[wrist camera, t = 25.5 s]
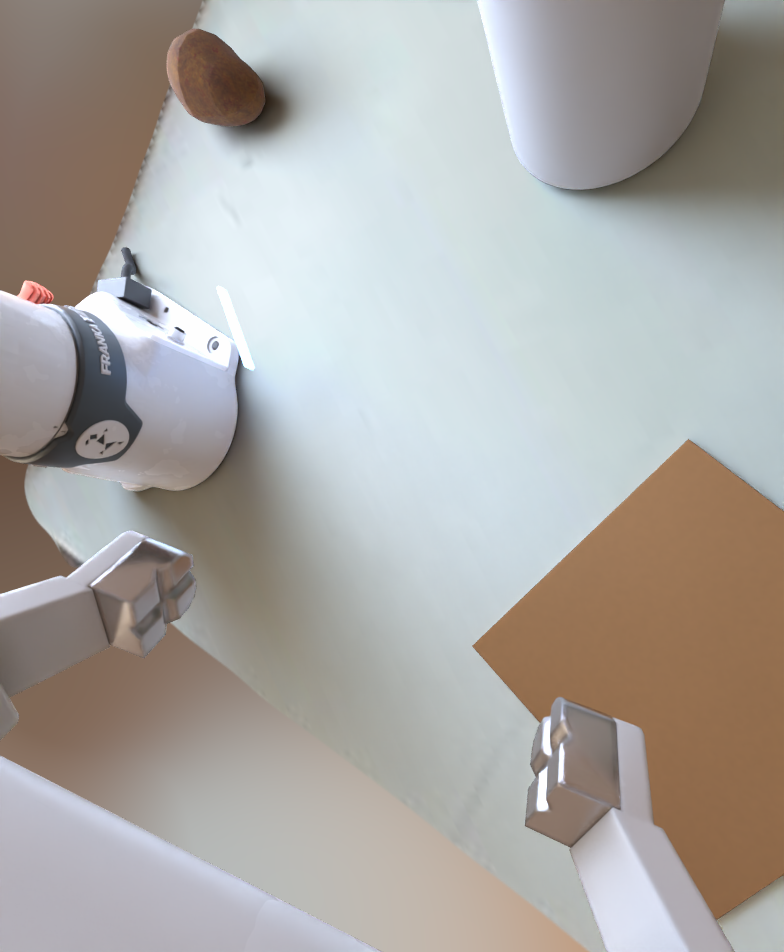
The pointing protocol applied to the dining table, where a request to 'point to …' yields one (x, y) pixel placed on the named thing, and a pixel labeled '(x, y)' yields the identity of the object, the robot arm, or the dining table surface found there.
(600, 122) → the cylinder vase
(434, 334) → the dining table surface
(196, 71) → the potato
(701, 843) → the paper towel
